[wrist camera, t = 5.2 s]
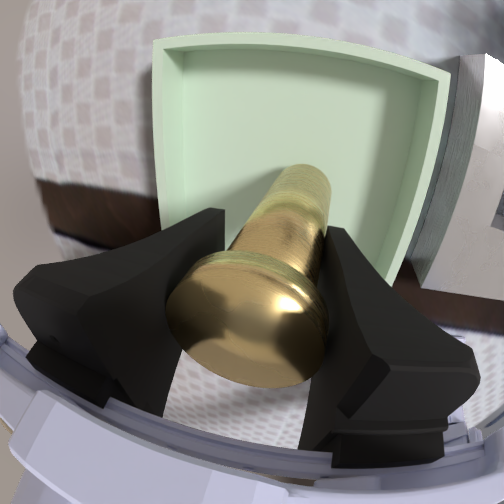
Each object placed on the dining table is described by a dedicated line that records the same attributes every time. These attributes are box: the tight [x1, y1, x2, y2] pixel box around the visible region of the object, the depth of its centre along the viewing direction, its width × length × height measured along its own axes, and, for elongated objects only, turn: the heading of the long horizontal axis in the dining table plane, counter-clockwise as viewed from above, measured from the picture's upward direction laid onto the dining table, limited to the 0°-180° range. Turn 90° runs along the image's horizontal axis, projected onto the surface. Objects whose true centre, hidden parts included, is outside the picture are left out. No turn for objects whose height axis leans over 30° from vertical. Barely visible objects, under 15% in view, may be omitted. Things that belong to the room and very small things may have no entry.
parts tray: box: [152, 32, 451, 287], centre depth 15 cm, size 16×14×3 cm
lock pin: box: [165, 164, 332, 388], centre depth 10 cm, size 4×4×10 cm
